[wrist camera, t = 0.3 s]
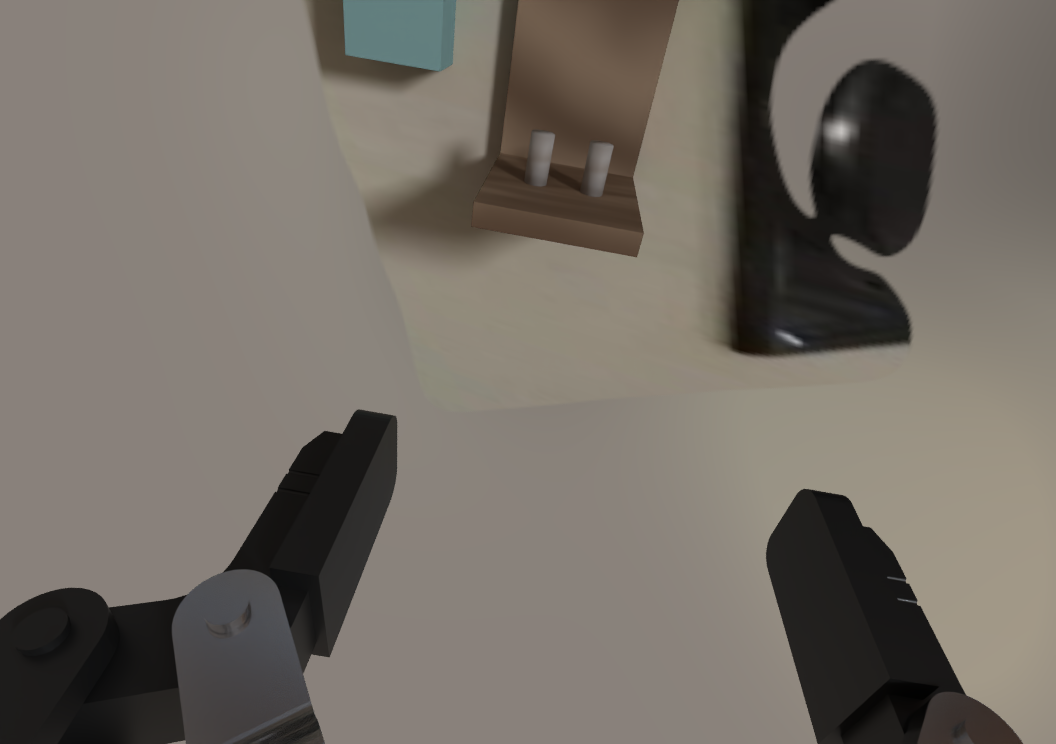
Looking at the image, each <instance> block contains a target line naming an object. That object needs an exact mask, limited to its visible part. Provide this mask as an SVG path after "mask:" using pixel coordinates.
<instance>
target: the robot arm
mask: <svg viewBox="0 0 1056 744" xmlns="http://www.w3.org/2000/svg"><path fill="white" fill-rule="evenodd" d="M396 474H397V418H396V416H393V415H388V414H382V413H376V412H370V411H365V410H357V411H356V412H355V413H354V414H353V416H352V417H351V419H350V421H349V423H348V425H347V427H346V429H345V430H344V432H343V434H340V433H333V432H328V431H324V432H323V433H321V434H320V435H319V436H317V437H316V438H315V439H313V440H312V441H311V442H309V443H308V444H307V445H305V446H304V447H303V448H302V449H301V451H300V453H299V454H298V456H297V458H296V459H295V461H294V462H293V464H292V466H291V467H290V469H289V473H288V474H286V475H285V477H284V478H283V480H282V482H281V483H280V485H279V487H278V491H277V492H275V493H274V495H273V496H272V498H271V499H270V501H269V503H268V504H267V506H266V508H265V509H264V511H263V513H262V514H261V516H260V517H259V519H258V521H257V522H256V524H255V525H254V527H253V529H252V530H251V532H250V534H249V535H248V537H247V538H246V540H245V542H244V543H243V545H242V547H241V548H240V550H239V551H238V553H237V555H236V556H235V558H234V560H233V561H232V562H231V564H230V565H229V566H228V568H227V569H226V570H225V571H224V572H223V573H220V574H218V575H215V576H213V577H211V578H209V579H207V580H206V581H204V582H202V583H201V584H199V585H198V586H196V587H195V588H194V589H193V590H192V591H191V592H190V593H189V594H187V595H185V596H182V597H178V598H175V599H169V600H163V601H156V602H148V603H140V604H133V605H125V606H118V607H110V608H109V607H108V606H107V604H106V602H105V601H104V599H103V598H102V597H101V596H100V595H98V594H97V593H96V592H93V591H91V590H87V589H83V588H65V589H59V590H54V591H50V592H47V593H44V594H41V595H39V596H36V597H34V598H32V599H30V600H28V601H26V602H24V603H22V604H21V605H19V606H17V607H16V608H14V609H13V610H11V611H10V612H9V613H7V614H6V615H5V616H4V617H3V618H1V619H0V744H168V743H172V742H178V741H183V740H186V744H325V742H324V739H323V736H322V732H321V729H320V726H319V723H318V721H317V718H316V717H315V714H314V711H313V707H312V704H311V701H310V697H309V694H308V691H307V687H306V683H305V680H304V676H303V672H304V670H305V668H306V666H307V663H308V661H309V658H310V656H311V654H313V655H319V656H325V657H330V655H331V652H332V650H333V647H334V644H335V642H336V639H337V637H338V634H339V632H340V629H341V626H342V624H343V621H344V619H345V616H346V613H347V611H348V608H349V606H350V603H351V600H352V598H353V596H354V593H355V590H356V588H357V585H358V583H359V580H360V578H361V575H362V572H363V570H364V567H365V565H366V562H367V560H368V557H369V554H370V552H371V549H372V547H373V544H374V542H375V539H376V536H377V534H378V531H379V529H380V526H381V524H382V521H383V518H384V516H385V513H386V511H387V508H388V506H389V503H390V500H391V497H392V494H393V490H394V486H395V481H396ZM766 561H767V568H768V572H769V575H770V578H771V582H772V586H773V589H774V592H775V596H776V599H777V603H778V607H779V610H780V613H781V617H782V621H783V624H784V627H785V631H786V634H787V638H788V641H789V645H790V649H791V652H792V656H793V659H794V662H795V666H796V669H797V673H798V677H799V680H800V683H801V687H802V690H803V694H804V697H805V701H806V704H807V708H808V711H809V715H810V718H811V722H812V725H813V729H814V732H815V736H816V739H817V743H818V744H1023V743H1022V741H1021V740H1020V738H1019V737H1018V736H1017V734H1016V733H1015V732H1014V731H1013V729H1012V728H1011V727H1010V726H1009V725H1008V724H1007V723H1006V722H1005V721H1004V720H1003V719H1002V718H1001V717H1000V716H998V715H997V714H996V713H995V712H994V711H992V710H991V709H990V708H988V707H987V706H985V705H984V704H982V703H981V702H979V701H977V700H975V699H973V698H971V697H969V696H966V694H965V692H964V690H963V689H962V687H961V685H960V683H959V681H958V679H957V677H956V675H955V673H954V671H953V669H952V667H951V665H950V663H949V661H948V659H947V657H946V655H945V654H944V652H943V650H942V648H941V646H940V644H939V642H938V640H937V638H936V636H935V634H934V632H933V630H932V628H931V626H930V624H929V622H928V620H927V618H926V616H925V614H924V613H923V611H922V608H921V606H918V605H917V598H916V597H915V595H914V593H913V591H912V589H911V587H910V585H909V584H907V583H906V577H905V575H904V573H903V571H902V569H901V567H900V565H899V563H898V561H897V560H896V557H895V555H894V553H893V552H892V551H891V550H890V549H889V547H888V546H887V545H886V544H885V543H884V542H883V541H882V540H881V539H880V537H879V536H878V535H877V534H876V533H875V532H874V531H873V530H872V529H871V528H870V527H864V526H862V523H861V521H860V519H859V517H858V515H857V513H856V511H855V509H854V507H853V505H852V503H851V501H850V500H849V499H848V498H847V497H846V496H843V495H838V494H832V493H826V492H821V491H815V490H809V489H803V490H801V491H799V492H798V494H797V495H796V497H795V498H794V500H793V501H792V503H791V504H790V506H789V507H788V509H787V511H786V513H785V514H784V516H783V517H782V519H781V520H780V522H779V523H778V525H777V527H776V528H775V530H774V531H773V533H772V534H771V536H770V538H769V542H768V545H767V552H766Z"/></svg>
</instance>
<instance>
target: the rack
mask: <svg viewBox="0 0 1056 744" xmlns="http://www.w3.org/2000/svg"><path fill="white" fill-rule="evenodd" d="M678 2H679V0H519V2H518V10H517V18H516V27H515V35H514V43H513V52H512V60H511V68H510V77H509V85H508V93H507V101H506V110H505V118H504V126H503V135H502V143H501V151H500V154H499V156H498V158H497V160H496V162H495V164H494V165H493V167H492V169H491V171H490V173H489V175H488V176H487V178H486V180H485V182H484V184H483V186H482V187H481V189H480V191H479V193H478V195H477V197H476V198H475V200H474V203H473V214H472V224H471V227H476V228H482V229H487V230H493V231H498V232H503V233H509V234H514V235H520V236H525V237H530V238H536V239H541V240H547V241H552V242H557V243H563V244H568V245H574V246H579V247H584V248H590V249H595V250H601V251H606V252H611V253H617V254H622V255H628V256H633V257H637V255H638V252H639V248H640V245H641V241H642V238H643V234H644V232H643V227H642V222H641V217H640V212H639V207H638V201H637V196H636V191H635V186H634V181H633V175H634V171H635V167H636V164H637V160H638V156H639V152H640V148H641V144H642V140H643V137H644V133H645V129H646V125H647V121H648V117H649V113H650V110H651V106H652V102H653V98H654V94H655V90H656V86H657V83H658V79H659V75H660V71H661V67H662V63H663V60H664V56H665V52H666V48H667V44H668V40H669V36H670V33H671V29H672V25H673V21H674V17H675V13H676V9H677V6H678Z"/></svg>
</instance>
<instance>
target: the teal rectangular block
mask: <svg viewBox="0 0 1056 744" xmlns="http://www.w3.org/2000/svg"><path fill="white" fill-rule="evenodd" d="M343 9H344V33H345V55H349V56H354V57H360V58H366V59H372V60H377V61H383V62H389V63H395V64H400V65H406V66H412V67H417V68H423V69H429V70H435V71H442V70H443V69H445V68H447V67H448V66H450V65H452V63H453V46H454V28H455V10H456V0H343Z"/></svg>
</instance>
